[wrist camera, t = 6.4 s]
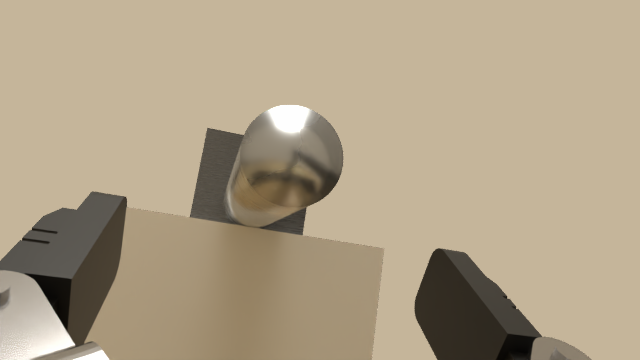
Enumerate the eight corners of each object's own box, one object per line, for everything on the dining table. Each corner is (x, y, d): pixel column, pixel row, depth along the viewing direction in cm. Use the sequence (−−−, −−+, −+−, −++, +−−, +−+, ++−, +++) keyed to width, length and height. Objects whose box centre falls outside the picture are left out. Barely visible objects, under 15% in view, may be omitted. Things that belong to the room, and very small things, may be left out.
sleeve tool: (281, 241, 32) (292, 171, 33) (384, 224, 14) (402, 67, 15) (192, 227, 31) (206, 154, 31) (175, 187, 12) (210, 18, 13)
